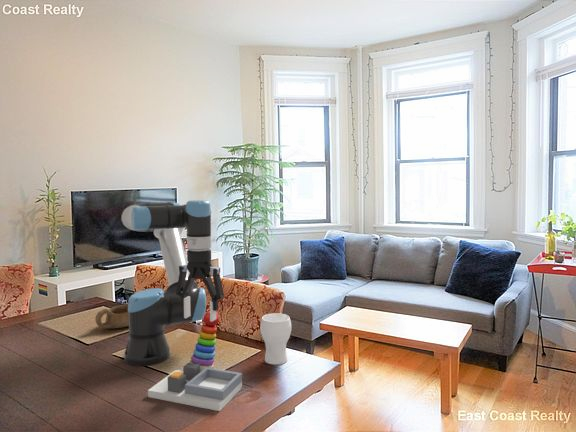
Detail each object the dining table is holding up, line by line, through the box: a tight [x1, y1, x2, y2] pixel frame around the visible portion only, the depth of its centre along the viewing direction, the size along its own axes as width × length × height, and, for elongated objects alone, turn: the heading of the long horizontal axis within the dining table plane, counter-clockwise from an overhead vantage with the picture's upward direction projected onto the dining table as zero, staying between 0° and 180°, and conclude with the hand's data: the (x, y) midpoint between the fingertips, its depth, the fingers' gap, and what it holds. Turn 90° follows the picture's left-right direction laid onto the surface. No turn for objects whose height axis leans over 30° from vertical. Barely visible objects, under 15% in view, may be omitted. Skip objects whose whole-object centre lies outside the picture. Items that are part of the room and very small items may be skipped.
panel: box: [147, 369, 243, 412], centre depth 128 cm, size 23×14×2 cm, turn 71°
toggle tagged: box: [168, 371, 186, 393], centre depth 125 cm, size 4×3×5 cm
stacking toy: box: [189, 310, 220, 372], centre depth 142 cm, size 8×8×19 cm
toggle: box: [182, 362, 201, 381], centre depth 132 cm, size 4×3×4 cm
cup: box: [259, 312, 292, 365], centre depth 150 cm, size 11×11×15 cm
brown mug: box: [94, 303, 129, 329], centre depth 183 cm, size 18×14×10 cm
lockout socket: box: [185, 367, 243, 400], centre depth 127 cm, size 12×12×2 cm
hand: (200, 318), depth 140 cm, fingers open, 9 cm apart
